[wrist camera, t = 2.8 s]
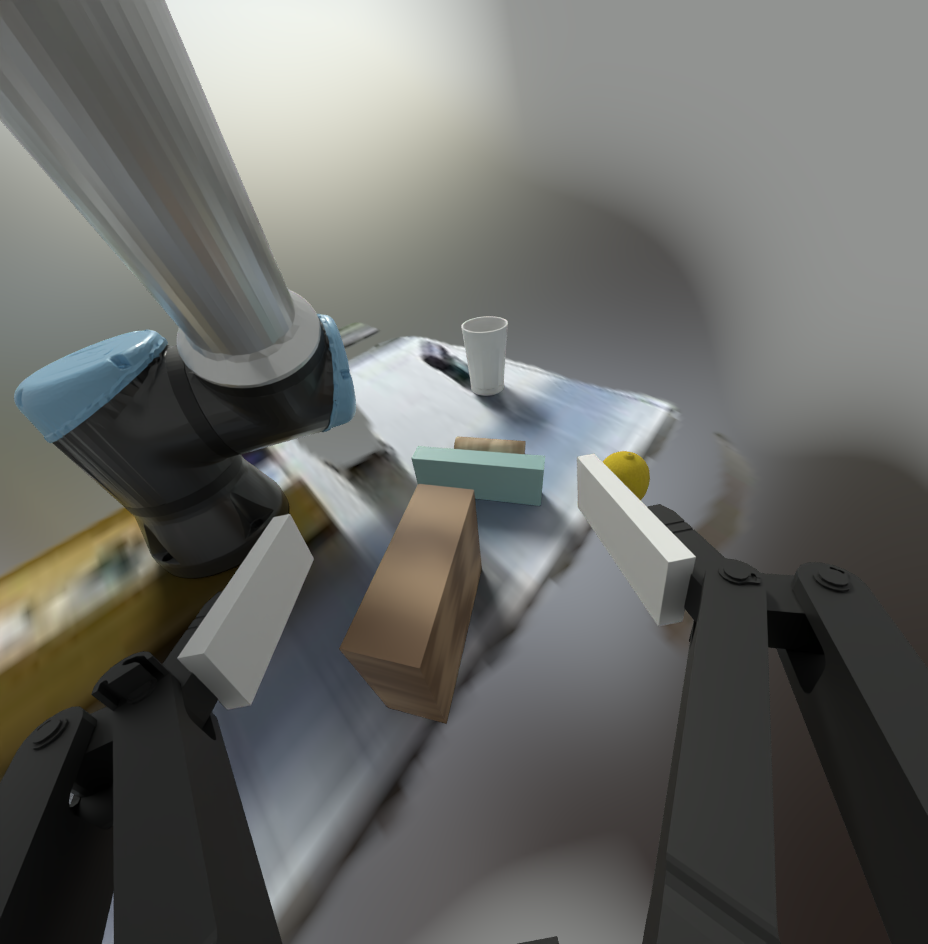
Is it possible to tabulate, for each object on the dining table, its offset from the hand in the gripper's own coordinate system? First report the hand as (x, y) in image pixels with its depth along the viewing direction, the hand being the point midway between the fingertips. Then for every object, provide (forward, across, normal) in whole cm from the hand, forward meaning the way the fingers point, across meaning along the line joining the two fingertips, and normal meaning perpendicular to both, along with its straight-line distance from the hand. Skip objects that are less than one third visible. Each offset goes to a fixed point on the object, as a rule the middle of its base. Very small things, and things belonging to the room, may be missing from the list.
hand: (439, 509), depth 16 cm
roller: (+30, +5, -13) cm, 33 cm away
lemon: (+20, +18, -18) cm, 32 cm away
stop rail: (+25, +3, -16) cm, 30 cm away
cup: (+53, +9, -10) cm, 54 cm away
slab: (+8, -4, -19) cm, 21 cm away
